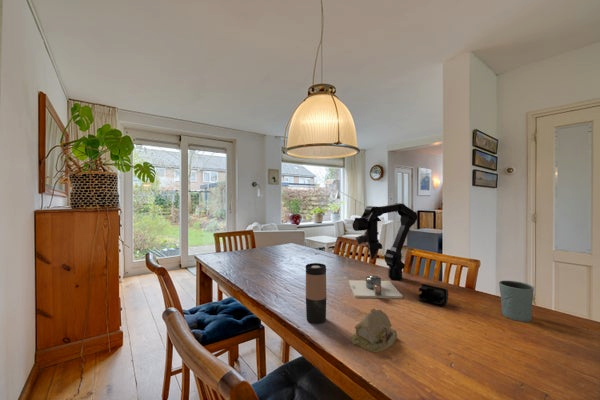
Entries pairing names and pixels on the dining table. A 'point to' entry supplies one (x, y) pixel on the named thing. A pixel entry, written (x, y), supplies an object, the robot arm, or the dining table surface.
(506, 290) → the green cup
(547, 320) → the dining table surface
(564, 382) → the dining table surface
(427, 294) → the end cap
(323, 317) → the travel mug
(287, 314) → the dining table surface
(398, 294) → the plate
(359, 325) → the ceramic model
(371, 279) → the lever
